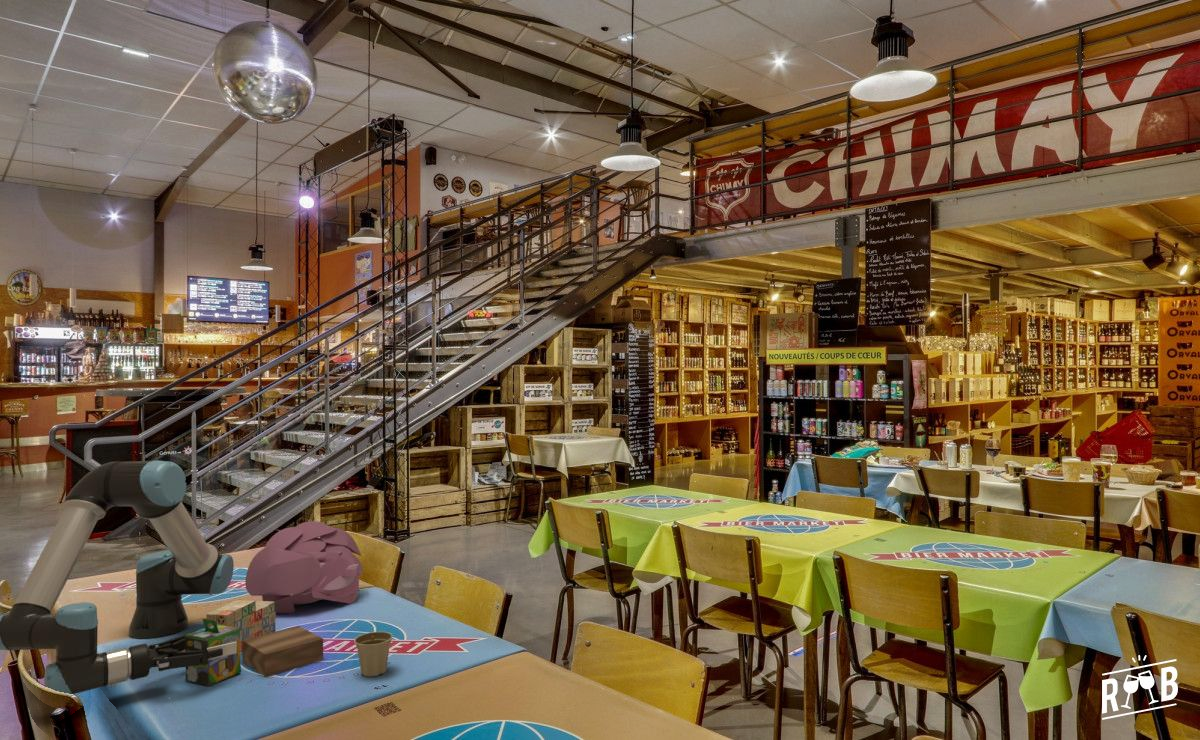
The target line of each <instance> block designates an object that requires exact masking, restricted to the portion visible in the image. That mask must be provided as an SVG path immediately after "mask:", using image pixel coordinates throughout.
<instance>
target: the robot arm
mask: <svg viewBox="0 0 1200 740" xmlns="http://www.w3.org/2000/svg"><path fill="white" fill-rule="evenodd" d="M186 480H187V479H186V475H185V472H184V471H183V469H182V467H180V466H179V465H178V464H177V463H175V462H173V461H167V460H166V461H164V460H144V461H143V460H138V461H137V460H135V461H110V462H105V463H103V464H101V465H99V466H97V467H95V468H94V469H92V470H89V472H88V473H86V474H85V475H84V476H83V477H82V478H81V479H79V480H78V482H77V483H76V484H75V485H74V486H73V487H72V488H71V489H70V491H69V492H68V494H67V496H66V497H65V498H64V501H63V502H62V505H61V508H62V510H63V511H62V512H63V513H62V514H61V515H60V518H59V520H58V522H57V523H56V525H55V527H54V529H53V531H52V533H51V535H50V536H49V537H48V540H47V542H46V544H45V545H44V548H43V550H42V551H41V553H40V554H39V556H38V558H37V560H36V562H35V564H34V565H33V568H32V569H31V571H30V574H29V576H28V577H27V578H26V581H25V583H24V585H23V586H22V588H21V590H20V593H18V594H19V595H17V598H16V600H15V602H14V603H13V605H12V607H11V608H10V610H9V612H8V613H4V614H1V615H0V651H9V652H13V651H21V650H22V651H23V650H25V651H26V650H55V661H54V662H52V663H48V664H47V665H46V666H45V668H44V677H43V678H44V679H43V680H44V688H45V687H48V688H51V689H53V690H55V691H59V692H64V693H69V694H73V695H76V694H81V693H83V692H89V691H91V690H95V689H96V690H97V689H99V688H103V687H104V688H105V687H107V686H110V687H115V686H116V685H117V684H120V683H125V682H127V680H128V679H129V680H131V681H133V680H139V679H142V678H146V677H148V676H149V675H150V670H151V669H152V668H158V671H159V672H163V671H167V670H173V669H181V668H185V667H189V666H197V665H206V664H208V660H210V659H215V658H219V657H223V656H227V655H231V654H235V653H237V642H231V643H227V644H223V645H218V646H214V647H209V648H207V650H196V651H185V635H187V634H190V633H193V632H194V631H193V632H189V633H186V634H183V635H181V636H177V637H174V638H171V639H168V640H165V641H161V642H159V643H154V644H150V645H147V644H146V643H142V644H138V645H133V646H130V647H128V648H126V647H122V648H117V649H112V650H108V651H105V652H99V653H98V630H99V629H98V628H99V627H98V625H99V619H98V609H97V606H96V604H95V603H92V602H86V601H85V602H78V603H77V602H76V603H70V604H65V605H64V606H61V607H59V608H58V609H57V611H56V613H52V611H53V610H54V608H55V606H56V603H57V601H58V600H59V598H60V596H61V593H62V591H63V589H64V588H65V586H66V583H67V581H68V579H69V578H70V576H71V574H72V571H73V570H74V568H75V565H76V564H77V562H78V561H79V558H80V556H81V553H82V552H83V549H84V548H85V546H86V544H87V542H88V540H89V538H90V536H91V534H92V532H93V530H94V528H95V526H96V524H97V522H98V521H99V520H101V519H104V518H105V516H106V515H107V512H108V510H109V509H111V508H113V507H131V508H133V510H134V511H135V513H136V514H137V516H138V517H140V518H142V519H145V520H149V522H150V523H151V525H152V526H153V528H154V529H155V531H156V532H157V534H158V536H160V538H161V540H162V541H163V542H164V544H165V546H166V547H167V550H161V551H157V552H154V553H150V554H146V555H144V556H142V557H140V558H139V559H138V560H137V562H136V569H135V571H136V572H135V575H136V576H135V582H136V583H135V584H136V585H135V587H136V588H135V590H136V592H135V596H136V597H135V601H136V602H135V605H136V606H135V610H134V613H133V616H132V618H131V621H130V624H129V627H128V628H129V629H128V636H129V637H131V638H134V639H152V638H153V639H154V638H160V637H164V636H169V635H174V634H176V633H179V632H181V631H184V630H185V629H186V628H188V626H189V616H188V614H187V612H186V609H185V606H184V604H183V603H184V602H183V601H182V596H184V595H185V596H187V595H188V596H189V595H190V596H193V595H194V596H195V595H198V596H199V595H202V596H203V595H205V596H206V595H207V596H208V595H209V596H212V595H219V594H220V595H221V594H222V593H224V592H225V591H227V589H228V587H229V586H230V584H231V581H232V578H233V575H234V565H235V564H234V559H233V556H232V555H231V554H228V553H227V554H226V553H223V554H221V553H220V552H219V551H218V549H217V548H216V547H215V545H213V544H210V543H207V542H206V541H205V539H204V537H203V536H202V534H201V532H200V530H199V529H198V527H197V526H196V524H195V522H194V520H193V518H192V517H191V516H190V514H189V512H188V511H187V509H186V507H185V506H184V504H183V502H182V501H183V499H184V497H185V494H186V491H187V482H186Z"/></svg>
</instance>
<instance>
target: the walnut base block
mask: <svg viewBox="0 0 1200 740" xmlns="http://www.w3.org/2000/svg"><path fill="white" fill-rule="evenodd" d="M241 653H242V654H241V655H242V657H241V660H242V661H241V662H242V664H243V663H244V664H245V665H246V666H247V667H250V668H251V669H253V671H255V672H257V673H258V674H259V675H261V676H263V677H265V678H267V677H271V676H273V675H277V674H281V673H284V672H287V671H290V670H293V669H297V668H301V667H303V666H307V665H311V664H314V663H317V662H320V661H324V638H323V637H321V636H319V635H317V634H315V633H314V632H311V631H309V630H307V629H305V628H303V627H302V626H300V625H296V626H292V627H289V628H285V629H281V630H277V631H276V630H275V632H273V633H269V634H265V635H261V636H257V637H253V638H249V639H246V640H242V652H241Z"/></svg>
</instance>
